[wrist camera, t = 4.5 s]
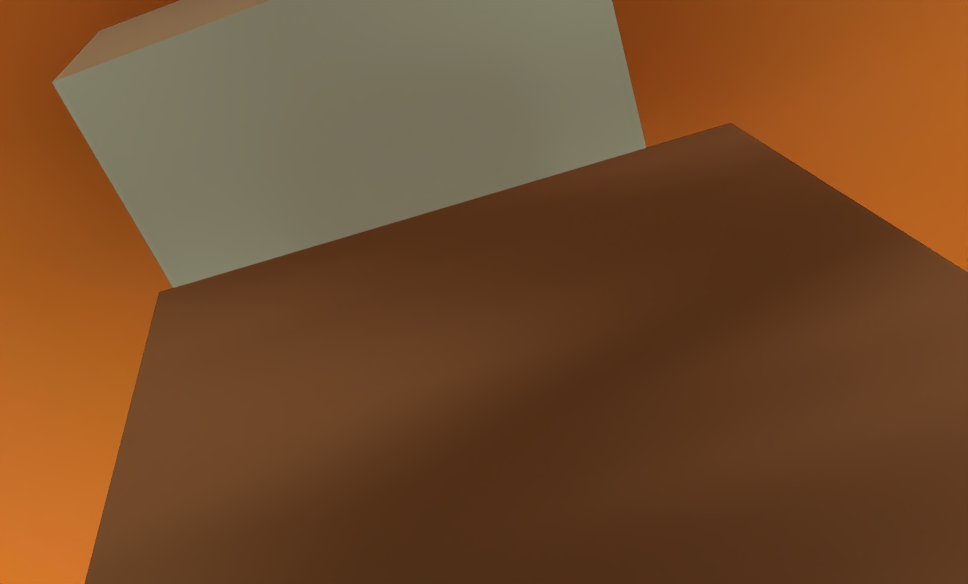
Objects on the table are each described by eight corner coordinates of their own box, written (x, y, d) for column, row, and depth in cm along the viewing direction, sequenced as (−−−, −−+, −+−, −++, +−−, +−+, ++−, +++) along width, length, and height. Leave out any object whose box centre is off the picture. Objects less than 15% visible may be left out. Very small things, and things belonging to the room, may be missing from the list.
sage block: (518, -129, 16) (583, -118, 12) (617, 241, 20) (688, 327, 16) (102, 27, 16) (51, 82, 12) (287, 369, 20) (289, 485, 16)
